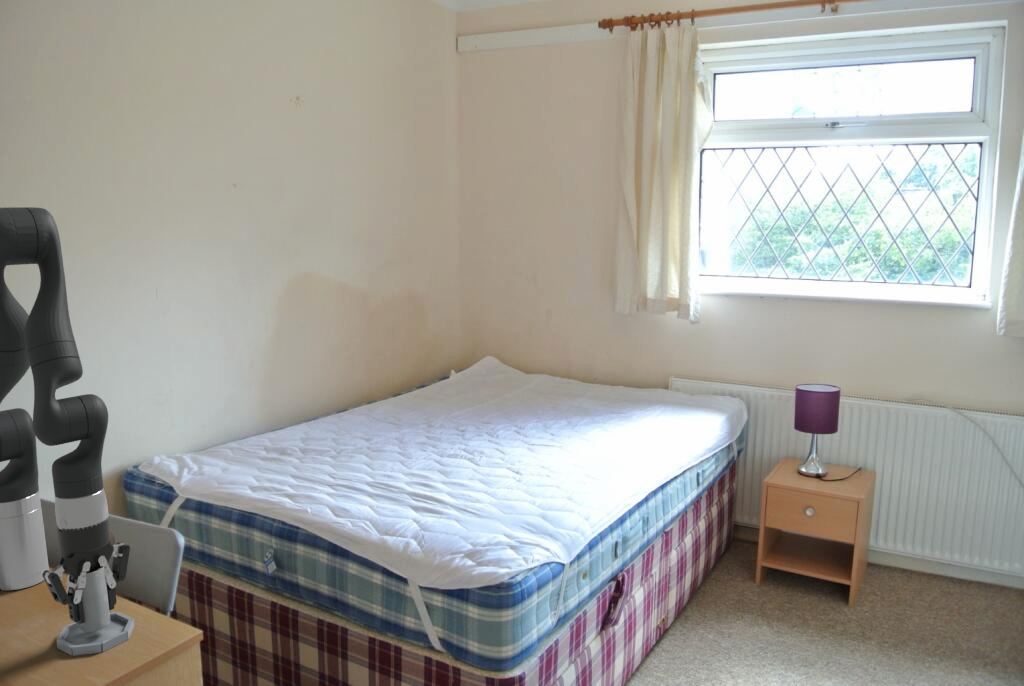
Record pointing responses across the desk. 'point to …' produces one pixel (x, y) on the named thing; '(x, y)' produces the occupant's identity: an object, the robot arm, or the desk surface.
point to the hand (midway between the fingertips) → (94, 614)
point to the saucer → (95, 636)
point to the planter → (95, 601)
